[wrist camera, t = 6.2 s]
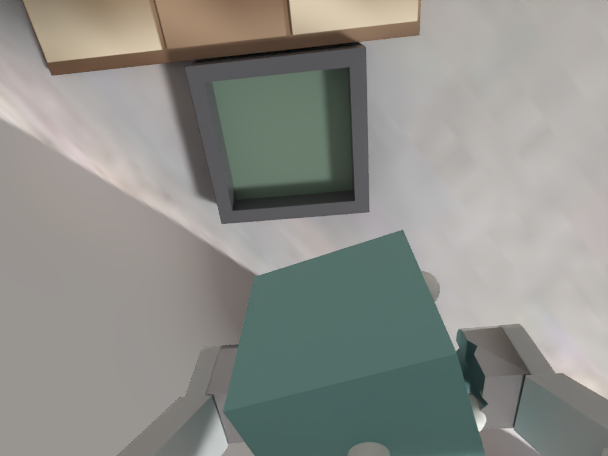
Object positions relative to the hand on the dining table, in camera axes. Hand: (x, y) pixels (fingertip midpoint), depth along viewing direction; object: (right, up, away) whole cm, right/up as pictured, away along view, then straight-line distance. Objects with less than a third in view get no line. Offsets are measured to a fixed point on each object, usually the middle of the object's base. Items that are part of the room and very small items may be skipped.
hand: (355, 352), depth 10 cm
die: (0, +1, +2) cm, 2 cm away
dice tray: (-3, +10, +18) cm, 20 cm away
